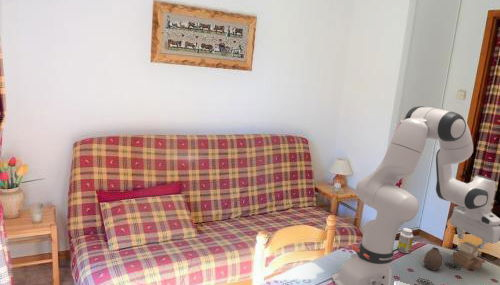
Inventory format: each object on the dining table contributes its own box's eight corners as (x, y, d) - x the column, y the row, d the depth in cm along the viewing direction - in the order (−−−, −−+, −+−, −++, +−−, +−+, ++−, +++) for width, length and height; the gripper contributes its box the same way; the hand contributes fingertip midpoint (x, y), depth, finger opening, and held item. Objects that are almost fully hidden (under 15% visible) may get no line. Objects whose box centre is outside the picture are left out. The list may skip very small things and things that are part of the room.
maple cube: (469, 259, 159) (471, 248, 158) (458, 253, 163) (460, 243, 162) (476, 257, 161) (479, 246, 160) (465, 252, 165) (468, 241, 164)
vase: (443, 273, 152) (447, 254, 151) (425, 270, 154) (429, 250, 152) (438, 265, 159) (442, 246, 157) (421, 262, 160) (424, 243, 159)
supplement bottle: (408, 248, 172) (412, 227, 170) (412, 254, 167) (416, 233, 165) (395, 247, 173) (399, 226, 170) (399, 252, 167) (403, 231, 165)
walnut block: (465, 269, 158) (467, 261, 157) (451, 259, 166) (453, 251, 165) (481, 268, 160) (483, 260, 159) (466, 259, 167) (468, 251, 167)
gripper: (450, 204, 166) (443, 233, 168) (496, 223, 148) (488, 255, 150) (459, 203, 168) (453, 232, 171) (505, 222, 150) (498, 253, 153)
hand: (470, 243), depth 161 cm, fingers open, 8 cm apart
